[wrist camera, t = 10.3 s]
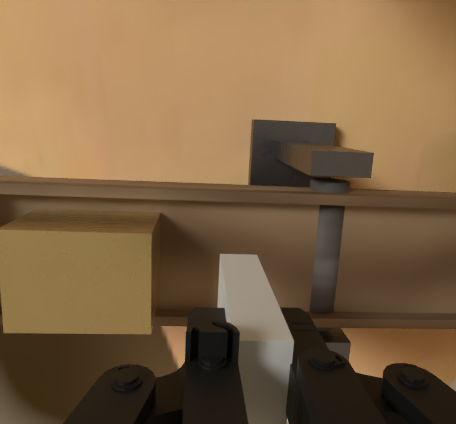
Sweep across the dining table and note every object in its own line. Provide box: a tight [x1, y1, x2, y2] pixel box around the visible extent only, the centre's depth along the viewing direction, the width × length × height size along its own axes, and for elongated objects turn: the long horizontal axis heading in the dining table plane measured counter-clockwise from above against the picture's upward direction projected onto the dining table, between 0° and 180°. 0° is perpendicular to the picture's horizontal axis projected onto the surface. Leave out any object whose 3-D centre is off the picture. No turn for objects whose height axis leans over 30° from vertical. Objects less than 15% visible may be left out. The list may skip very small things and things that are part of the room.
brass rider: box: [0, 208, 161, 334], centre depth 19 cm, size 4×6×4 cm
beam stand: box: [248, 120, 374, 361], centre depth 26 cm, size 14×6×12 cm, turn 177°
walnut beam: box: [0, 176, 456, 331], centre depth 20 cm, size 8×36×6 cm, turn 87°
